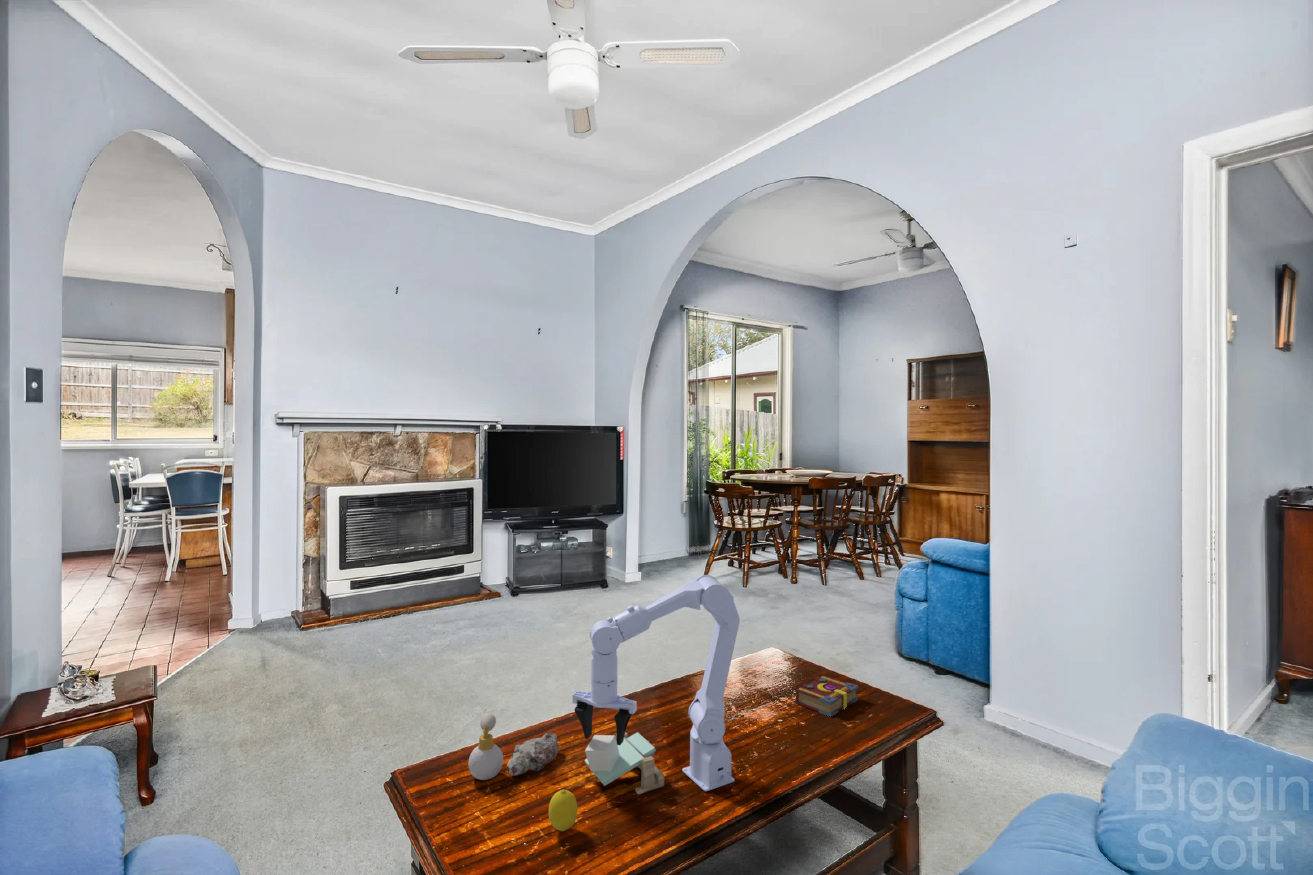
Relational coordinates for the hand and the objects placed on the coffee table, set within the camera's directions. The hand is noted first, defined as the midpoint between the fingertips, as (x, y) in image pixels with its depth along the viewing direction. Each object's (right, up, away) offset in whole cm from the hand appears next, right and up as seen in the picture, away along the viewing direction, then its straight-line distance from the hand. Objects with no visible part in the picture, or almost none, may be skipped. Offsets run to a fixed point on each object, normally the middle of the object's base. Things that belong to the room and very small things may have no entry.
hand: (604, 739), depth 136 cm
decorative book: (+60, -10, +41) cm, 74 cm away
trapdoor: (+4, -6, +2) cm, 8 cm away
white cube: (0, -5, +1) cm, 5 cm away
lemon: (-7, -11, -15) cm, 20 cm away
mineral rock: (-17, -10, +8) cm, 21 cm away
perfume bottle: (-27, -10, +4) cm, 29 cm away
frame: (+6, -10, +4) cm, 12 cm away
